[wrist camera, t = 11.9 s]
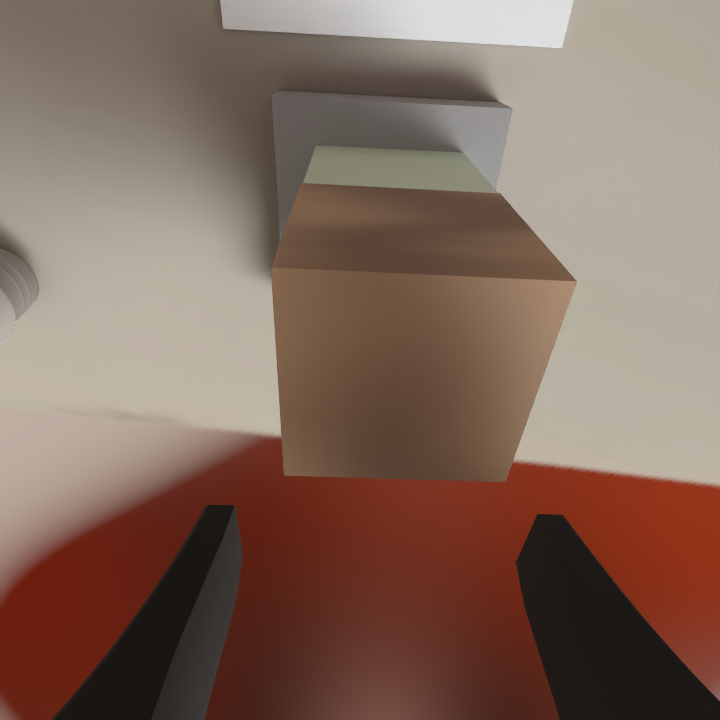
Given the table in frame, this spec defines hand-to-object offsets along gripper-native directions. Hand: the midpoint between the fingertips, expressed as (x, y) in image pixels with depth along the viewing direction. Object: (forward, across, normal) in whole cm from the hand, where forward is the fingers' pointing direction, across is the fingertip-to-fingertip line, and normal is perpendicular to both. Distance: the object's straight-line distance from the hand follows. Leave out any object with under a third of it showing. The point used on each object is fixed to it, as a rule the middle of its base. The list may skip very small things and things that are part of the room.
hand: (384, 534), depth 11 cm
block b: (+4, 0, -5) cm, 6 cm away
